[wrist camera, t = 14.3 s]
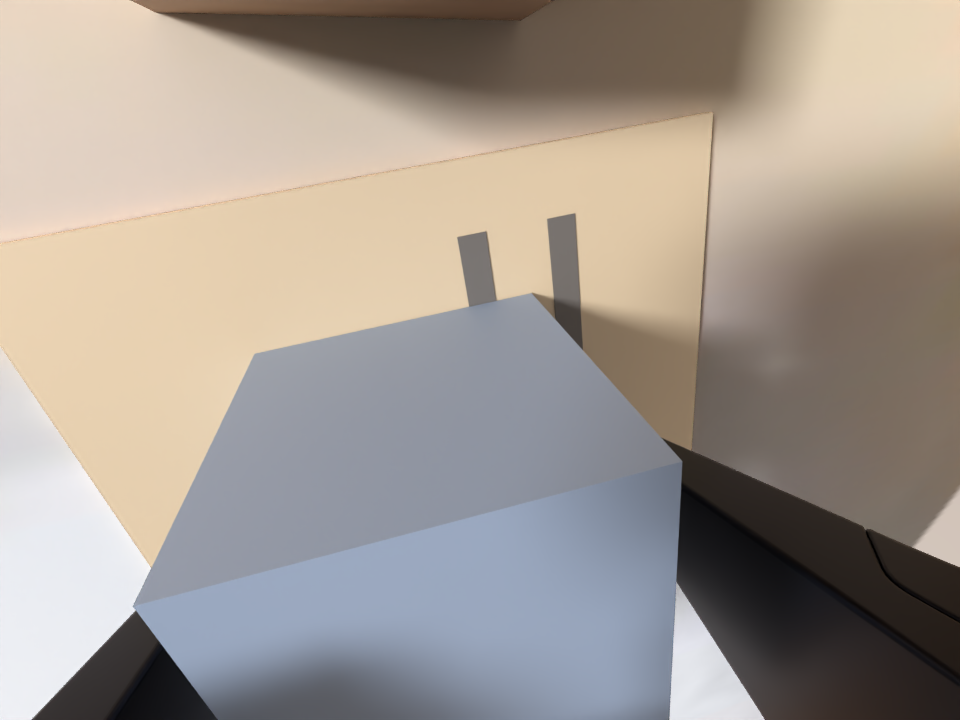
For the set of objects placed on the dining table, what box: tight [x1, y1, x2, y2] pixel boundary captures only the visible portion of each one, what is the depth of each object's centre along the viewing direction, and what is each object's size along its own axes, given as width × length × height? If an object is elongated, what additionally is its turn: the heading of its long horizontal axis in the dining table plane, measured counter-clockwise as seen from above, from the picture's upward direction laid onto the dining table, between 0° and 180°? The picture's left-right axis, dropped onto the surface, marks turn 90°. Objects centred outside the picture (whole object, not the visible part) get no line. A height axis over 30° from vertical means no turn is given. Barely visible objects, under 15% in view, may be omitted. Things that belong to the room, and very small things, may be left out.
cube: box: [133, 293, 682, 720], centre depth 8 cm, size 5×5×5 cm
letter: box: [0, 112, 713, 568], centre depth 10 cm, size 12×8×1 cm, turn 99°
